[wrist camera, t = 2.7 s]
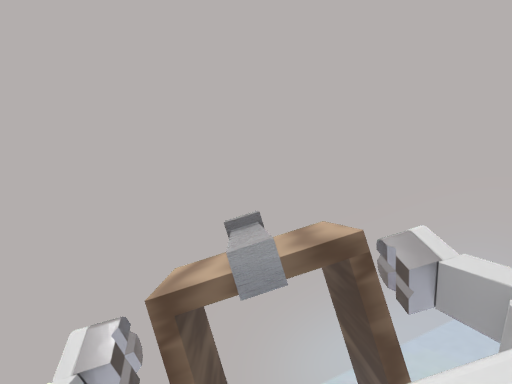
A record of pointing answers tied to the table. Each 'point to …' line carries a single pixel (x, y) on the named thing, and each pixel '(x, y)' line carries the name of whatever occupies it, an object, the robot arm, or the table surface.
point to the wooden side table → (294, 263)
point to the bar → (253, 256)
